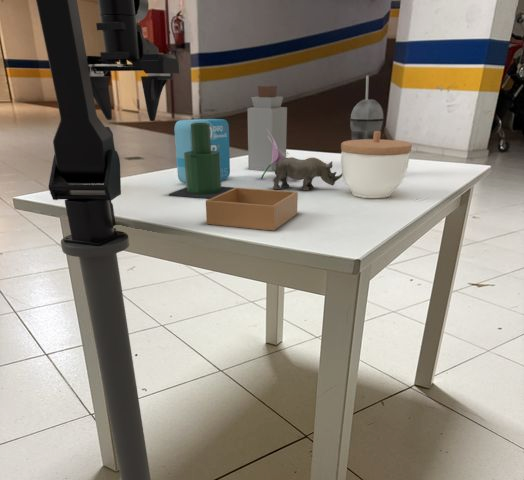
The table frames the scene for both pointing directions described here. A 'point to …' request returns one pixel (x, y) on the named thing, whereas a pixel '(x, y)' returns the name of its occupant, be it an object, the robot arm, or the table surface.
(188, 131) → the data package
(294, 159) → the rhino figurine
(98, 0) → the robot arm
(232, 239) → the table surface
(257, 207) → the carton
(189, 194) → the mat
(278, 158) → the lily
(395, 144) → the lidded bowl
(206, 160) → the bottle
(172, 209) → the table surface
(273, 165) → the perfume bottle
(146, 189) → the table surface
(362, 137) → the beverage cup
